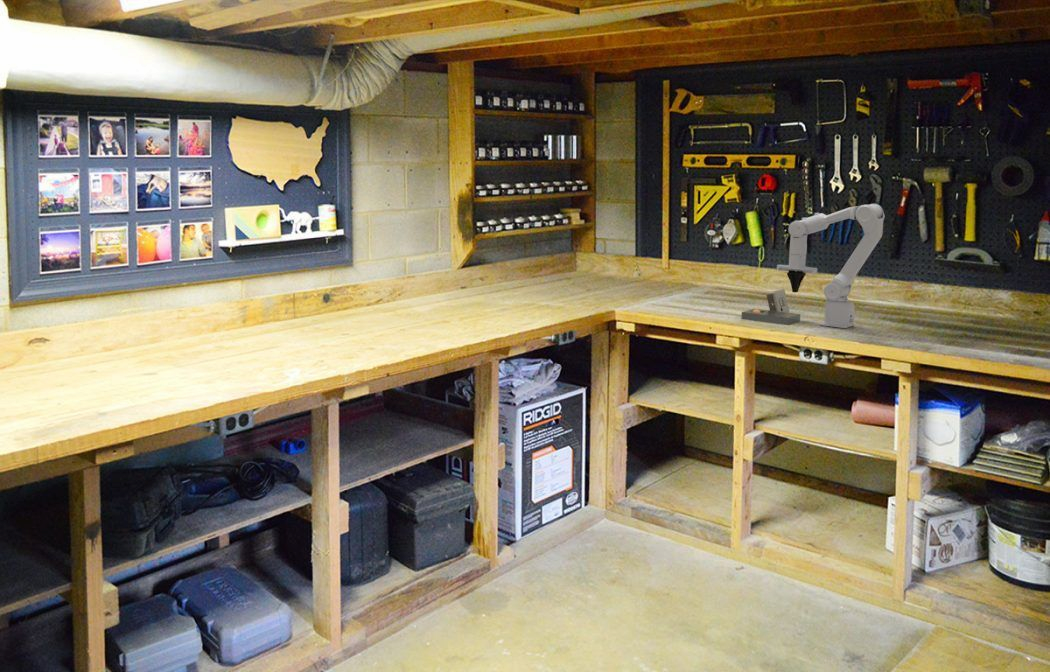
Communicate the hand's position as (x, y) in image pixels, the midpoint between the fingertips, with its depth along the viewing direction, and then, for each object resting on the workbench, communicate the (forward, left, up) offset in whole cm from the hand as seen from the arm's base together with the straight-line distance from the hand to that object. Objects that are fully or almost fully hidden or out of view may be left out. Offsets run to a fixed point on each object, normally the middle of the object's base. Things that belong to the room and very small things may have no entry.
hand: (795, 292), depth 342 cm
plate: (+7, +5, -10) cm, 13 cm away
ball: (+12, +5, -9) cm, 16 cm away
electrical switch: (+11, -9, -11) cm, 18 cm away
